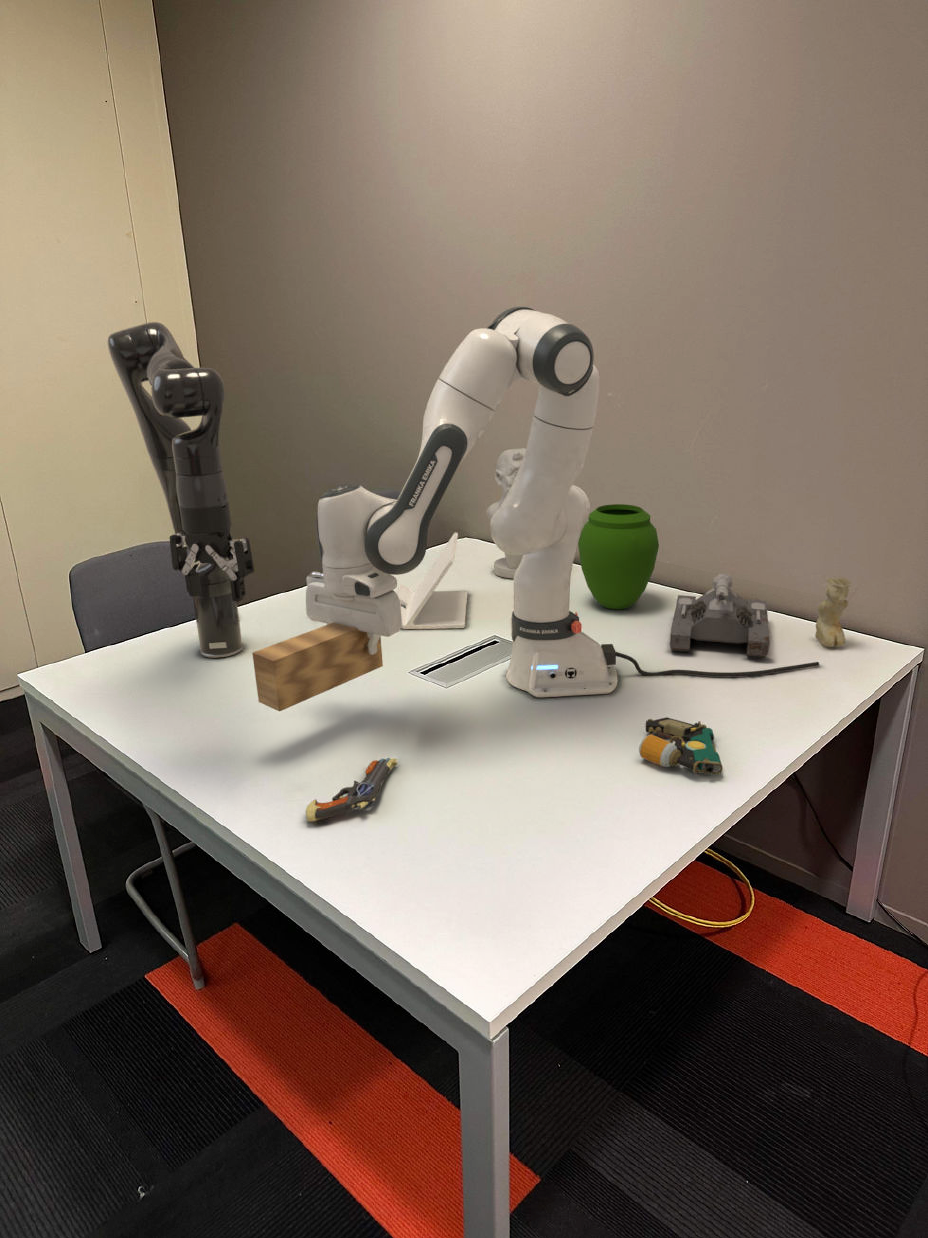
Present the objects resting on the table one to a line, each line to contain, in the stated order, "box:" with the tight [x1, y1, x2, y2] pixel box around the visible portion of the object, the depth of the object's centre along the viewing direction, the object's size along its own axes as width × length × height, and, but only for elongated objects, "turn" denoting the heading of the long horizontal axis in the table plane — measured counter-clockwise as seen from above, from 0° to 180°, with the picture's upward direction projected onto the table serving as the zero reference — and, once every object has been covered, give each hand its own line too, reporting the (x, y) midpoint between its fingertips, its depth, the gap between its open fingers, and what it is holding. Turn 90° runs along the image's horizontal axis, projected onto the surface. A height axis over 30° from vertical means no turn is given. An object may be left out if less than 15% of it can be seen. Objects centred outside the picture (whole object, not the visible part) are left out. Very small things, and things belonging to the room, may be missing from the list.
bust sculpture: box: [485, 447, 526, 579], centre depth 231 cm, size 16×24×35 cm
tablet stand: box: [396, 531, 468, 630], centre depth 211 cm, size 18×25×17 cm
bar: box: [251, 623, 384, 712], centre depth 150 cm, size 24×6×9 cm, turn 138°
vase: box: [577, 503, 660, 610], centre depth 210 cm, size 20×20×24 cm
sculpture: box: [814, 576, 852, 648], centre depth 185 cm, size 6×7×15 cm
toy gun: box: [305, 757, 398, 822], centre depth 135 cm, size 3×19×10 cm
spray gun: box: [638, 716, 724, 775], centre depth 144 cm, size 4×17×15 cm
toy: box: [669, 573, 770, 658], centre depth 190 cm, size 25×20×15 cm
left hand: (217, 597), depth 140 cm, fingers open, 8 cm apart
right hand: (355, 649), depth 156 cm, fingers closed on bar, 6 cm apart
